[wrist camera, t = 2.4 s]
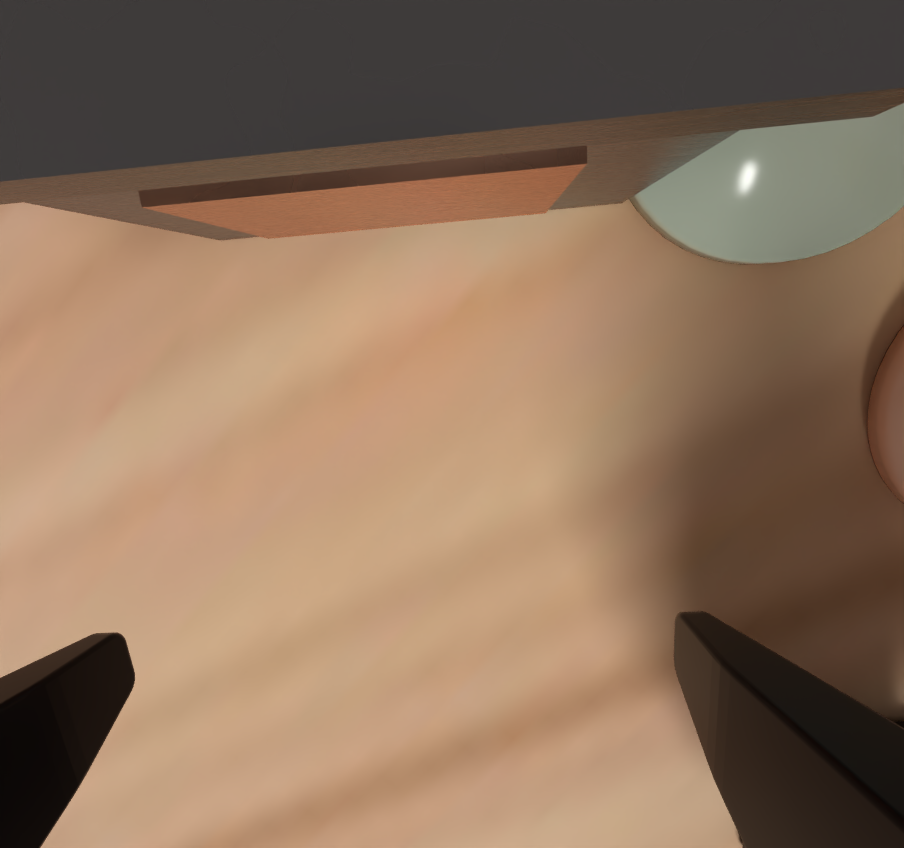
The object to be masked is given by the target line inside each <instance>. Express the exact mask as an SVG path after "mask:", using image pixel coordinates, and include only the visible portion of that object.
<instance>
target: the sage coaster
mask: <svg viewBox="0 0 904 848" xmlns="http://www.w3.org/2000/svg"><path fill="white" fill-rule="evenodd" d="M629 199H630V201H631V202H632V204H633V205H634V207H635V208H636V210H637V211H638V212H639V213H640V215H641V216H642V217H643V218H644V219H645V220H646V221H647V222H648V223H649V225H650V226H651V227H653V228H654V229H655V230H656V231H657V232H659V233H660V234H661V235H662V236H663V237H665V238H666V239H667V240H669V241H671V242H672V243H674V244H676V245H677V246H679V247H680V248H682V249H684V250H687V251H689V252H691V253H694V254H696V255H698V256H701V257H704V258H708V259H712V260H715V261H719V262H726V263H735V264H765V263H776V262H784V261H791V260H798V259H804V258H808V257H812V256H815V255H819V254H822V253H826V252H829V251H831V250H833V249H836V248H838V247H841V246H843V245H846V244H848V243H850V242H852V241H854V240H856V239H857V238H859V237H861V236H863V235H865V234H867V233H868V232H870V231H872V230H873V229H875V228H876V227H878V226H879V225H880V224H882V223H883V222H885V221H886V220H888V219H889V218H890V217H892V216H893V215H894V214H895V213H896V212H898V211H899V210H900V209H901V208H902V207H903V206H904V103H903V104H901V105H898V106H896V107H894V108H891V109H889V110H887V111H885V112H882V113H880V114H878V115H876V116H873V117H865V118H855V119H845V120H835V121H825V122H815V123H805V124H796V125H786V126H776V127H766V128H756V129H746V130H740V131H738V132H736V133H735V134H733V135H731V136H730V137H728V138H727V139H725V140H723V141H722V142H720V143H718V144H717V145H715V146H714V147H712V148H710V149H709V150H707V151H705V152H704V153H702V154H701V155H699V156H697V157H696V158H694V159H692V160H691V161H689V162H688V163H686V164H684V165H683V166H681V167H679V168H678V169H676V170H675V171H673V172H671V173H670V174H668V175H667V176H665V177H663V178H662V179H660V180H658V181H657V182H655V183H654V184H652V185H650V186H649V187H647V188H645V189H644V190H642V191H641V192H639V193H637V194H636V195H634V196H632V197H631V198H629Z"/></svg>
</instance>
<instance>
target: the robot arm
mask: <svg viewBox="0 0 904 848" xmlns="http://www.w3.org/2000/svg"><path fill="white" fill-rule="evenodd" d="M674 665H675V670H676V674H677V677H678V680H679V683H680V685H681V688H682V691H683V694H684V697H685V700H686V702H687V705H688V708H689V711H690V714H691V717H692V719H693V722H694V725H695V728H696V731H697V734H698V736H699V739H700V742H701V745H702V748H703V751H704V753H705V756H706V759H707V762H708V765H709V767H710V770H711V773H712V775H713V778H714V780H715V782H716V785H717V787H718V789H719V791H720V794H721V796H722V798H723V800H724V802H725V805H726V807H727V809H728V811H729V813H730V815H731V817H732V820H733V822H734V824H735V826H736V828H737V830H738V832H739V835H740V837H741V839H742V841H743V848H904V722H892V721H890V720H889V719H887V718H885V717H884V716H882V715H880V714H878V713H877V712H875V711H873V710H872V709H870V708H868V707H867V706H865V705H863V704H861V703H860V702H858V701H856V700H855V699H853V698H851V697H850V696H848V695H846V694H844V693H843V692H841V691H839V690H838V689H836V688H834V687H833V686H831V685H829V684H828V683H826V682H824V681H822V680H821V679H819V678H817V677H816V676H814V675H812V674H811V673H809V672H807V671H805V670H804V669H802V668H800V667H799V666H797V665H795V664H794V663H792V662H790V661H788V660H787V659H785V658H783V657H782V656H780V655H778V654H777V653H775V652H773V651H771V650H770V649H768V648H766V647H765V646H763V645H761V644H760V643H758V642H756V641H755V640H753V639H751V638H749V637H748V636H746V635H744V634H743V633H741V632H739V631H738V630H736V629H734V628H732V627H731V626H729V625H727V624H726V623H724V622H722V621H721V620H719V619H717V618H715V617H714V616H712V615H710V614H709V613H707V612H703V611H697V612H680V613H679V614H678V615H677V616H676V619H675V638H674ZM134 681H135V672H134V668H133V665H132V661H131V657H130V654H129V650H128V647H127V643H126V640H125V638H124V637H123V636H122V635H121V634H119V633H96V634H92V635H90V636H88V637H86V638H84V639H82V640H79V641H77V642H75V643H73V644H71V645H69V646H67V647H65V648H63V649H60V650H58V651H56V652H54V653H52V654H50V655H48V656H46V657H44V658H41V659H39V660H37V661H35V662H33V663H31V664H29V665H27V666H25V667H22V668H20V669H18V670H16V671H14V672H12V673H10V674H8V675H6V676H3V677H1V678H0V848H40V847H41V846H42V844H43V843H44V841H45V840H46V838H47V836H48V835H49V833H50V832H51V830H52V829H53V827H54V826H55V824H56V823H57V821H58V819H59V818H60V816H61V815H62V813H63V812H64V810H65V809H66V807H67V806H68V804H69V802H70V801H71V799H72V798H73V796H74V794H75V793H76V791H77V789H78V788H79V786H80V784H81V783H82V781H83V779H84V777H85V776H86V774H87V772H88V770H89V769H90V767H91V765H92V763H93V761H94V759H95V757H96V756H97V754H98V752H99V750H100V748H101V746H102V745H103V743H104V741H105V739H106V737H107V735H108V734H109V732H110V730H111V728H112V726H113V724H114V722H115V721H116V719H117V717H118V715H119V713H120V711H121V710H122V708H123V706H124V704H125V702H126V700H127V699H128V697H129V695H130V693H131V691H132V689H133V686H134Z"/></svg>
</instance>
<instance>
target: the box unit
mask: <svg viewBox="0 0 904 848" xmlns="http://www.w3.org/2000/svg"><path fill="white" fill-rule="evenodd" d="M903 103H904V0H0V205H1V204H11V203H21V202H25V203H30V204H35V205H40V206H46V207H51V208H56V209H61V210H66V211H71V212H77V213H82V214H87V215H92V216H97V217H102V218H107V219H113V220H118V221H123V222H128V223H133V224H138V225H144V226H149V227H154V228H159V229H164V230H169V231H175V232H180V233H185V234H190V235H195V236H200V237H205V238H211V239H216V240H227V239H238V238H249V237H259V236H260V237H264V238H268V239H269V238H280V237H291V236H302V235H313V234H324V233H335V232H346V231H356V230H367V229H378V228H389V227H400V226H411V225H422V224H433V223H444V222H454V221H465V220H476V219H487V218H498V217H509V216H520V215H531V214H542V213H546V212H547V211H548V210H552V209H563V208H574V207H584V206H595V205H606V204H617V203H623V202H624V201H626V200H628V199H629V198H631V197H632V196H634V195H636V194H637V193H639V192H641V191H642V190H644V189H645V188H647V187H649V186H650V185H652V184H654V183H655V182H657V181H658V180H660V179H662V178H663V177H665V176H667V175H668V174H670V173H671V172H673V171H675V170H676V169H678V168H679V167H681V166H683V165H684V164H686V163H688V162H689V161H691V160H692V159H694V158H696V157H697V156H699V155H701V154H702V153H704V152H705V151H707V150H709V149H710V148H712V147H714V146H715V145H717V144H718V143H720V142H722V141H723V140H725V139H727V138H728V137H730V136H731V135H733V134H735V133H736V132H738V131H740V130H746V129H756V128H766V127H776V126H786V125H796V124H805V123H815V122H825V121H835V120H845V119H855V118H865V117H873V116H876V115H878V114H880V113H882V112H885V111H887V110H889V109H891V108H894V107H896V106H898V105H901V104H903Z"/></svg>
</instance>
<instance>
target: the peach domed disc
mask: <svg viewBox="0 0 904 848" xmlns="http://www.w3.org/2000/svg"><path fill="white" fill-rule="evenodd" d="M867 426H868V437H869V445H870V449H871V453H872V457H873V460H874V462H875V465H876V467H877V469H878V472H879V474H880V475H881V477H882V479H883V480H884V482H885V483H886V485H887V486H888V488H889V489H890V490H891V491H892V492H893V494H894V495H895V496H896V497H897V498H898V499H899V500H900V501H901V502H902V503H904V326H903V327H902V329H901V330H900V331H899V333H898V334H897V336H896V337H895V339H894V341H893V342H892V344H891V345H890V347H889V348H888V350H887V352H886V354H885V356H884V358H883V361H882V363H881V365H880V367H879V369H878V372H877V375H876V378H875V381H874V384H873V387H872V391H871V396H870V401H869V406H868V422H867Z"/></svg>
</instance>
